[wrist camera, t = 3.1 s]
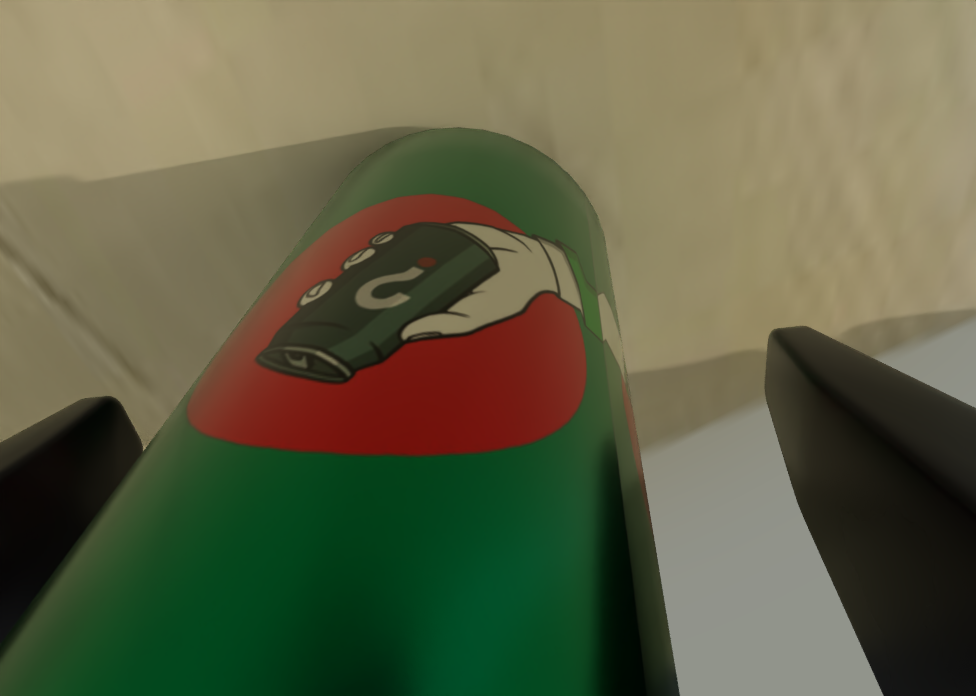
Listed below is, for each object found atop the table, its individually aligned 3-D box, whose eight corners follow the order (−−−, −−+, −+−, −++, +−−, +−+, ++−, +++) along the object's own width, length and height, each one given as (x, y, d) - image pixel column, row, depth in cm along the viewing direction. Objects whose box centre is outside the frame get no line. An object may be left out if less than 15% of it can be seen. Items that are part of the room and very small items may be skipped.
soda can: (272, 225, 13) (-793, 1461, 3) (496, 51, 11) (-209, 2014, 1) (443, 409, 15) (212, 1514, 5) (657, 290, 13) (1052, 1709, 3)
